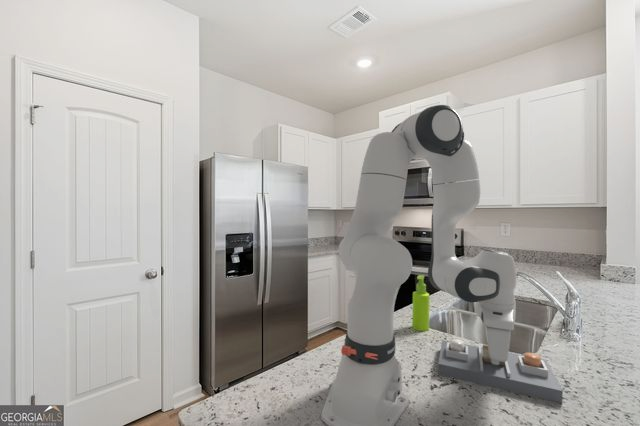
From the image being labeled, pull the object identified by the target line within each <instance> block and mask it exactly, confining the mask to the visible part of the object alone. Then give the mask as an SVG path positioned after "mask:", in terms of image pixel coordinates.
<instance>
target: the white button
mask: <svg viewBox="0 0 640 426" xmlns="http://www.w3.org/2000/svg"><path fill="white" fill-rule="evenodd" d="M450 342H451V346H450V349H451V350H452V351H457V352H464V344H465V341H463V340H461V339H457V338H456V339H454V338H453V339H451V340H450Z"/></svg>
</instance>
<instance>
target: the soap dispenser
mask: <svg viewBox="0 0 640 426" xmlns="http://www.w3.org/2000/svg"><path fill="white" fill-rule="evenodd" d="M424 279H425V274H418V275H417V277H416V280H418V282H417V283H416V287H415V289H416V291H413V292H412V323H411V324H412V329H414V330H415V331H418V332H419V331H420V332H427V331H429V330H430V293H428V292H427V284H426V283H424V282H425V281H424Z"/></svg>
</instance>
